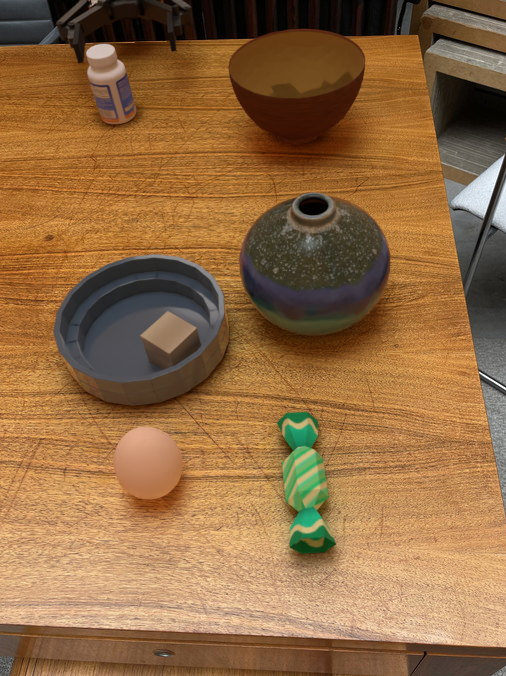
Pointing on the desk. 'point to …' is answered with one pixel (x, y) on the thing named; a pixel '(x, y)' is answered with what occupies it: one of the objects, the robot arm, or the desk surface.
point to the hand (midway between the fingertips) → (125, 47)
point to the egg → (147, 463)
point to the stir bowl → (139, 327)
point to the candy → (305, 484)
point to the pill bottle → (110, 85)
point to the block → (170, 341)
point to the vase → (314, 264)
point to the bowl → (297, 81)
